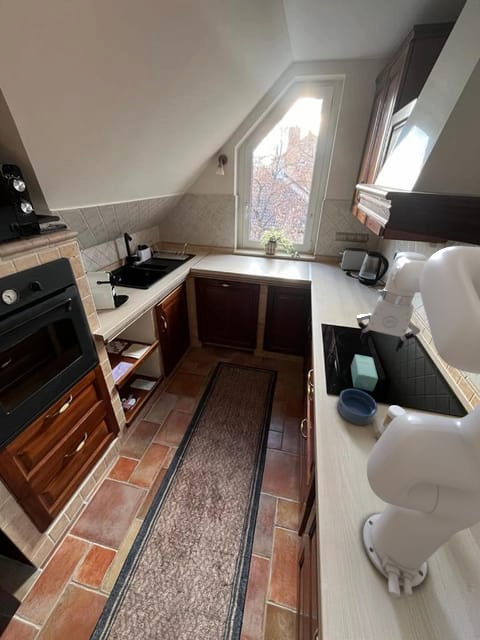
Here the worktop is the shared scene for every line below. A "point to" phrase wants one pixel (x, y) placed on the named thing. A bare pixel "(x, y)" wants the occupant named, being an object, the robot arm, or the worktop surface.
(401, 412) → the sprinkles bottle
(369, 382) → the box
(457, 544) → the worktop surface
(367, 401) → the bowl
